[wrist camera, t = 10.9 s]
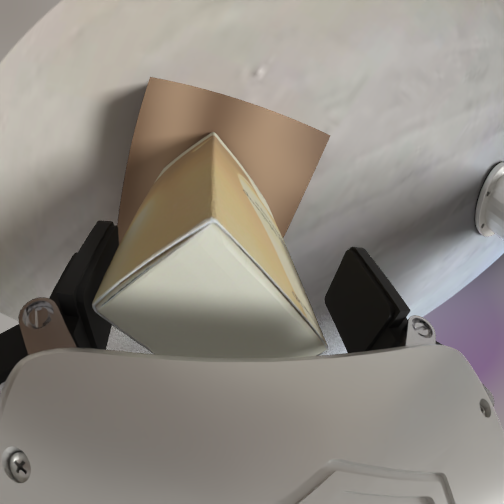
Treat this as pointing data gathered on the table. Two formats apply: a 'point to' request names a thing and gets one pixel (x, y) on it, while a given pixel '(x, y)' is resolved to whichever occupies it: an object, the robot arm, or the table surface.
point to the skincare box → (208, 268)
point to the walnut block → (233, 136)
